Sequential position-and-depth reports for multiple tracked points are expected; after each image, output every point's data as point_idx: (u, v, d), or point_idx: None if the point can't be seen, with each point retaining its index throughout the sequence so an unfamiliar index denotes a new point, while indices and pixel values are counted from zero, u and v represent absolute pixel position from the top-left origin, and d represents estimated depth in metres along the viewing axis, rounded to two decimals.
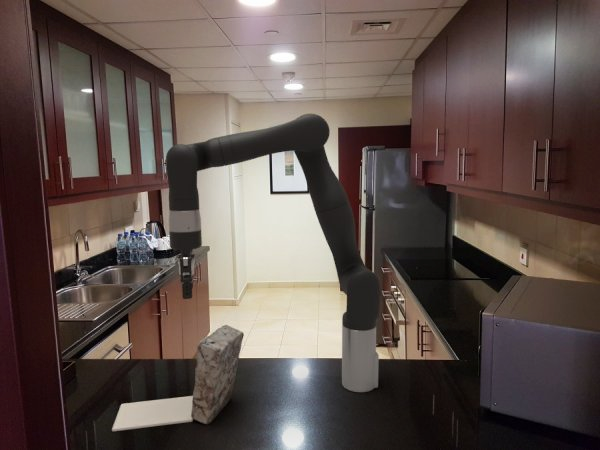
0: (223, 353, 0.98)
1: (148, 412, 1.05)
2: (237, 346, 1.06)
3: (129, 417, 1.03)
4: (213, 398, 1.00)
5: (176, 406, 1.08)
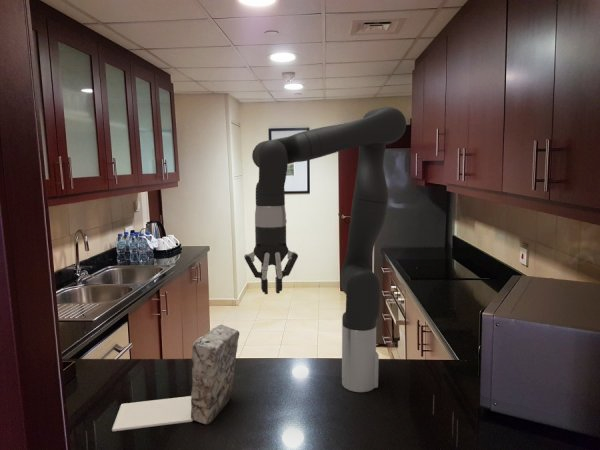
0: (218, 351, 0.98)
1: (148, 412, 1.05)
2: (232, 345, 1.06)
3: (129, 417, 1.03)
4: (212, 397, 1.00)
5: (176, 406, 1.08)
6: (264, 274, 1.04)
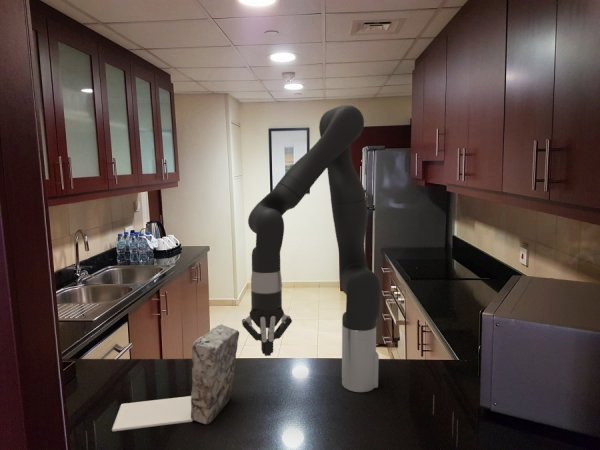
0: (218, 351, 0.98)
1: (148, 412, 1.05)
2: (232, 344, 1.06)
3: (129, 417, 1.03)
4: (211, 397, 1.00)
5: (176, 406, 1.08)
6: (264, 337, 1.06)
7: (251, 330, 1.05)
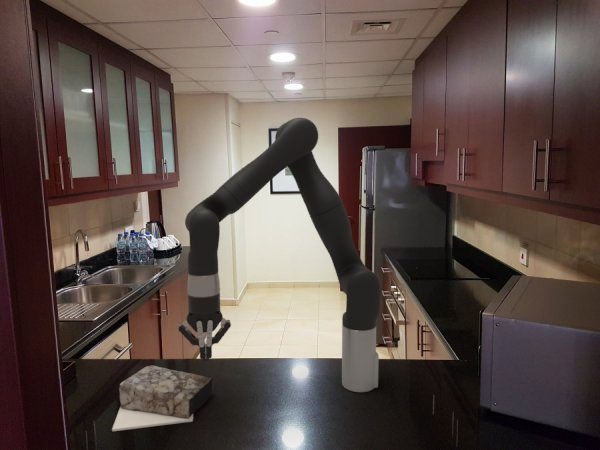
0: (125, 383, 1.07)
1: (148, 412, 1.05)
2: (151, 371, 1.14)
3: (129, 417, 1.03)
4: (165, 393, 1.04)
5: None
6: (202, 341, 1.03)
7: (187, 335, 1.02)
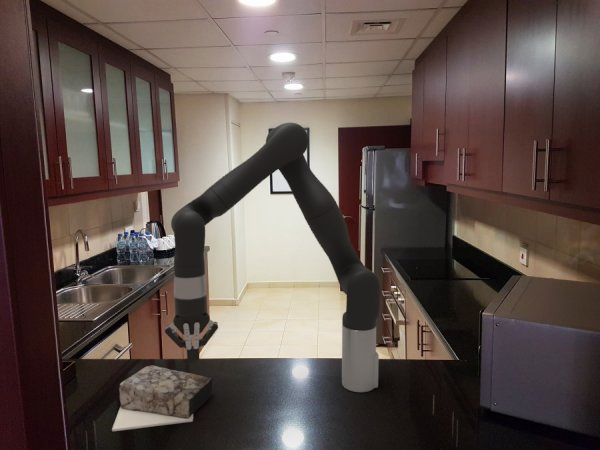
0: (125, 383, 1.07)
1: (148, 412, 1.05)
2: (151, 371, 1.14)
3: (129, 417, 1.03)
4: (165, 393, 1.04)
5: None
6: (189, 344, 1.02)
7: (174, 337, 1.02)
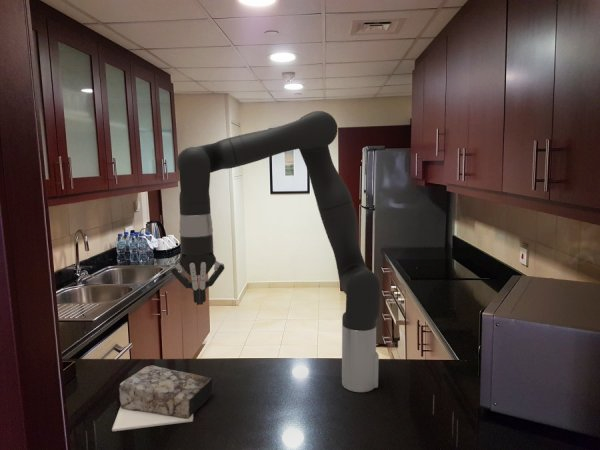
0: (125, 383, 1.07)
1: (148, 412, 1.05)
2: (151, 371, 1.14)
3: (129, 417, 1.03)
4: (165, 393, 1.04)
5: None
6: (195, 284, 1.02)
7: (181, 277, 1.01)
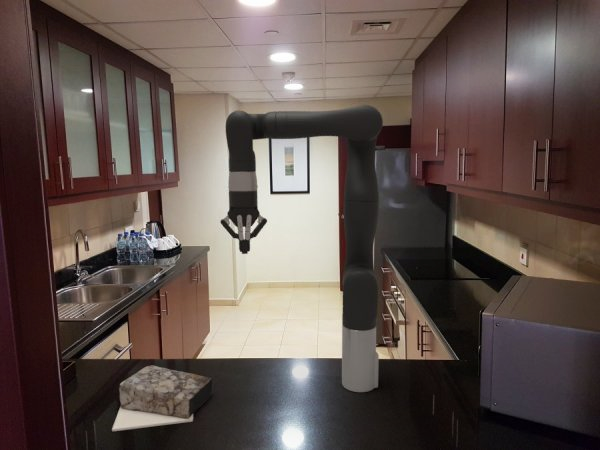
0: (125, 383, 1.07)
1: (148, 412, 1.05)
2: (151, 371, 1.14)
3: (129, 417, 1.03)
4: (165, 393, 1.04)
5: None
6: (241, 235, 1.14)
7: (229, 228, 1.13)
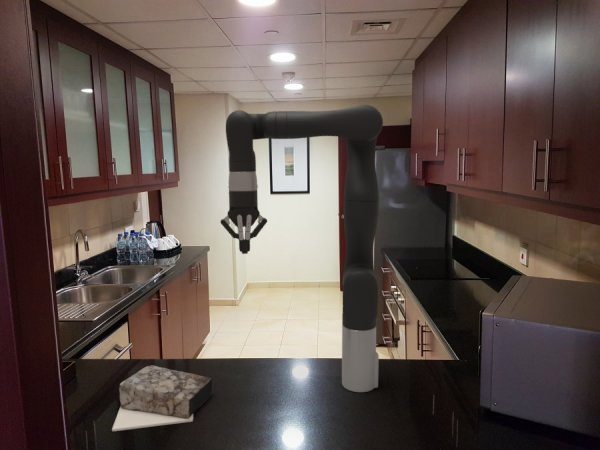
0: (125, 383, 1.07)
1: (148, 412, 1.05)
2: (151, 371, 1.14)
3: (129, 417, 1.03)
4: (165, 393, 1.04)
5: None
6: (241, 235, 1.14)
7: (229, 228, 1.13)
